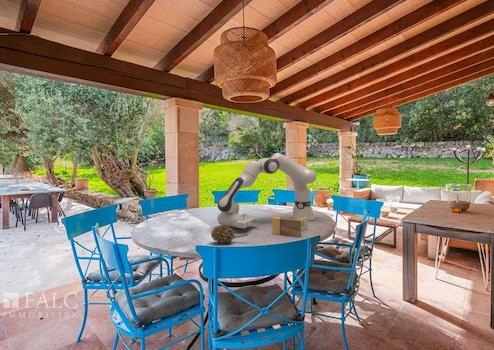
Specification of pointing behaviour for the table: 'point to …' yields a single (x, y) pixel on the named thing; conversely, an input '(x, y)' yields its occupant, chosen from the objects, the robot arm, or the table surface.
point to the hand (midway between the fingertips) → (257, 223)
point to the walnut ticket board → (290, 227)
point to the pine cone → (224, 234)
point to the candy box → (304, 224)
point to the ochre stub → (276, 225)
